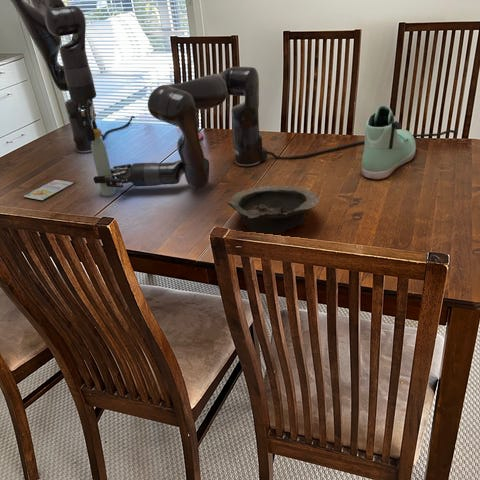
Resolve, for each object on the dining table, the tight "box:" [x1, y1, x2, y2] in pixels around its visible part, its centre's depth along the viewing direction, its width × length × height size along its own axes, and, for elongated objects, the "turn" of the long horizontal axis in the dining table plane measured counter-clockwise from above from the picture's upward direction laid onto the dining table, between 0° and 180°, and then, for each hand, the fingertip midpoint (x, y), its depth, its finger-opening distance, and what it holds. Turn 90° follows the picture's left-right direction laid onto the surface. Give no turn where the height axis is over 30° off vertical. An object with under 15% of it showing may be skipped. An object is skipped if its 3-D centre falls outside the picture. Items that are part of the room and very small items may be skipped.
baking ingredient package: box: [23, 179, 74, 201], centre depth 165 cm, size 9×1×15 cm
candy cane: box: [198, 132, 204, 141], centre depth 196 cm, size 6×15×2 cm, turn 145°
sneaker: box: [361, 105, 417, 180], centre depth 160 cm, size 14×34×20 cm, turn 152°
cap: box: [93, 128, 103, 138], centre depth 149 cm, size 4×4×2 cm
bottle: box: [91, 137, 116, 197], centre depth 154 cm, size 4×4×21 cm
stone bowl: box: [226, 184, 320, 236], centre depth 133 cm, size 25×25×9 cm
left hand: (93, 136), depth 149 cm, fingers open, 6 cm apart
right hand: (96, 176), depth 157 cm, fingers closed on bottle, 4 cm apart
